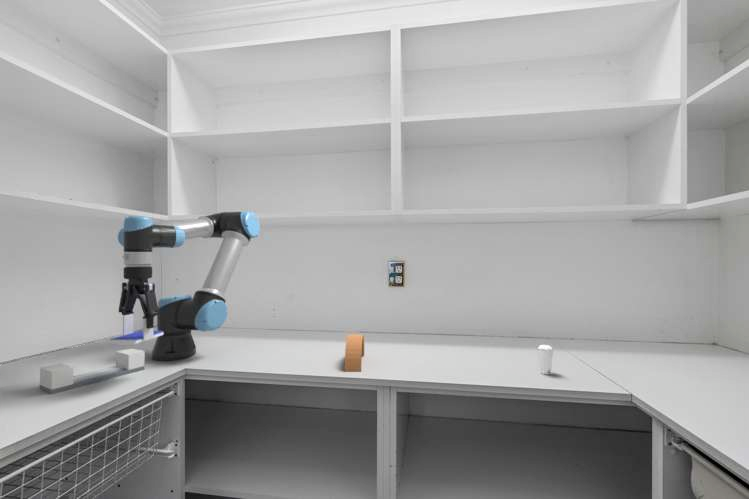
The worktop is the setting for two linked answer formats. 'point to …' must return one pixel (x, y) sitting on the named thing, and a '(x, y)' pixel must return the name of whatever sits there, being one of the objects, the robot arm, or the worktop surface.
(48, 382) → the rail board
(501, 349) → the worktop surface
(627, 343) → the worktop surface
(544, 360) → the milkshake
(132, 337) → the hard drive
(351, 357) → the arch
